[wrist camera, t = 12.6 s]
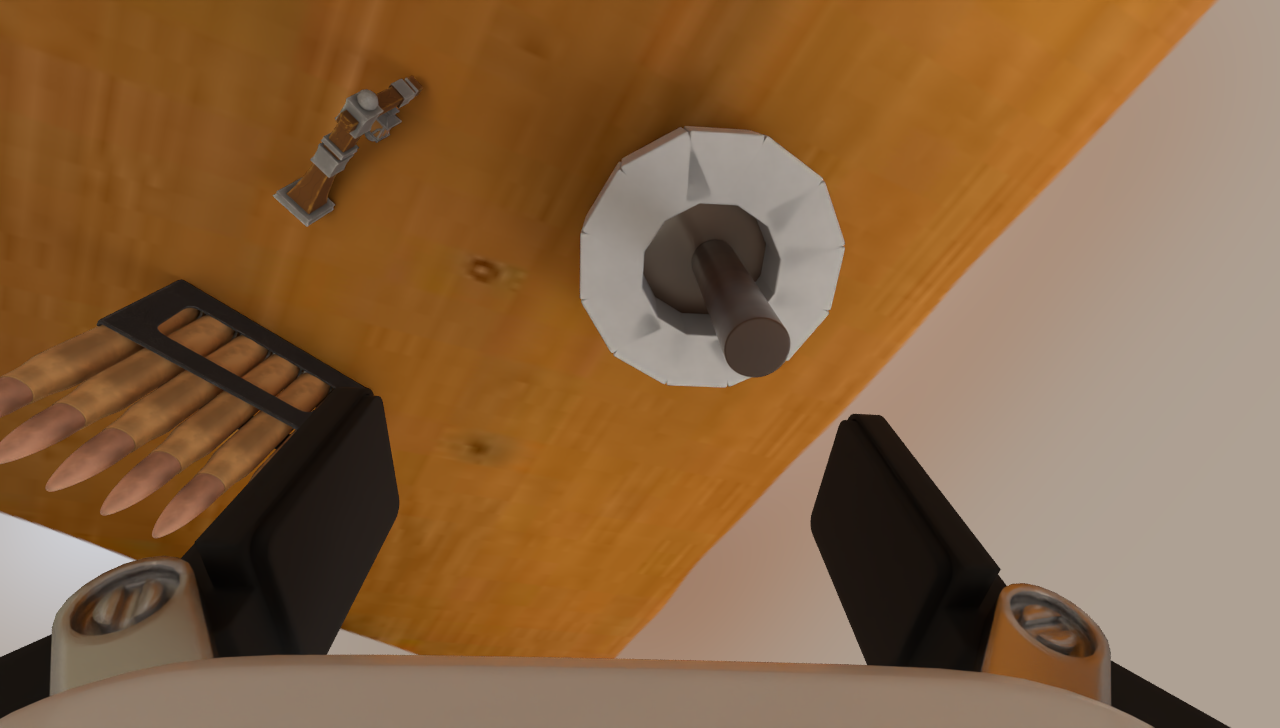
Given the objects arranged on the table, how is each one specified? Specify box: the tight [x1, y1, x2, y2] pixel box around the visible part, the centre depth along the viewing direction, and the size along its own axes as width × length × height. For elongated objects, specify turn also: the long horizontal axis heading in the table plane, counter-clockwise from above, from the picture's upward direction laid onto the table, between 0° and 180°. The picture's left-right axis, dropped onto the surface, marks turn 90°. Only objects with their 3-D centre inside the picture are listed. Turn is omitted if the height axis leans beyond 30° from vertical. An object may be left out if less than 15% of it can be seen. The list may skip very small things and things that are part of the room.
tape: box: [580, 126, 845, 387], centre depth 25 cm, size 12×12×3 cm
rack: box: [643, 203, 791, 377], centre depth 23 cm, size 8×8×11 cm
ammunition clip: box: [0, 280, 365, 538], centre depth 24 cm, size 11×2×12 cm, turn 50°
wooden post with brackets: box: [272, 76, 423, 226], centre depth 23 cm, size 2×8×4 cm, turn 129°
